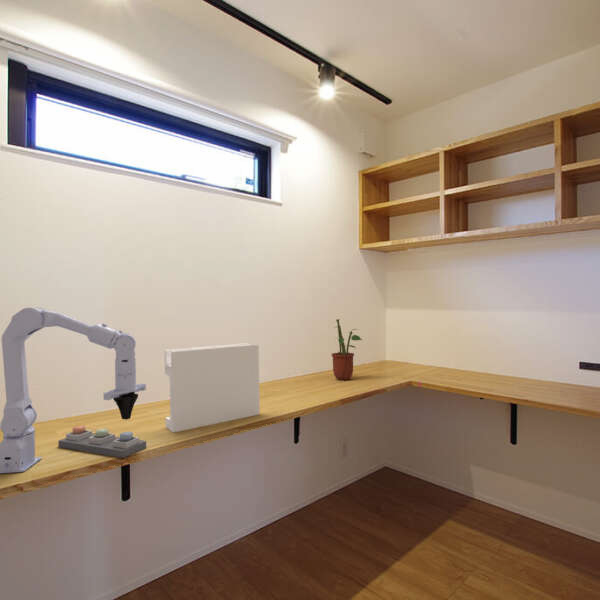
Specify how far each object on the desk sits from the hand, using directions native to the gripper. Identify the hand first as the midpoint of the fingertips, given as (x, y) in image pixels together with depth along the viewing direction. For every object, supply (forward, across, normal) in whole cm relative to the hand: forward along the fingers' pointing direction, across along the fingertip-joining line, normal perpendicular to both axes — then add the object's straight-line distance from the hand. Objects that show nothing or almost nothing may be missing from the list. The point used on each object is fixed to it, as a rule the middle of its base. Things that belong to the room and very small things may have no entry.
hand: (126, 418), depth 120 cm
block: (+10, +36, -7) cm, 38 cm away
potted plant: (+10, +134, -32) cm, 138 cm away
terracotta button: (+6, 0, +20) cm, 21 cm away
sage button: (+6, 0, +10) cm, 12 cm away
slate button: (+6, 0, 0) cm, 6 cm away
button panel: (+10, 0, +10) cm, 14 cm away
